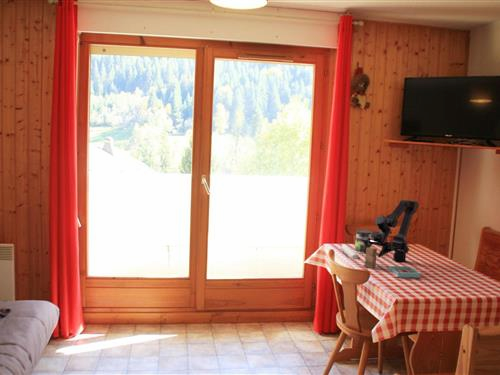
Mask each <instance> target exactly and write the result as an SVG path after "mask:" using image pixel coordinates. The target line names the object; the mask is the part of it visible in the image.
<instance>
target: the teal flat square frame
mask: <svg viewBox="0 0 500 375" xmlns="http://www.w3.org/2000/svg"><path fill="white" fill-rule="evenodd" d="M397 270H398V271H397ZM399 270H401V271H404V270H405V271H407V270H409V271H410V272H399ZM388 271H391V272H392V273H393V274H395V275H396V278H397V279H421V272H420V271H418V270H417V269H415V268H412V266H392V265H391V266H390V265H389V266H388Z"/></svg>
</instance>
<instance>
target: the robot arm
mask: <svg viewBox="0 0 500 375" xmlns="http://www.w3.org/2000/svg"><path fill="white" fill-rule="evenodd" d="M418 209H419V203H418V201H416V200H411V199H406V200H405V199H400V200H399V203H398V204H397V206H396V207H395V209H393V211H392V212H391V213H390V214H387V215H386V216H385V215H383V214H382V215H380V216H377V217H376V218H375V219H374V223H375V225H376V228H377V229H378V230H379V231H374V230H372V233H371V236H372V238H371V239H370V238H368V237H363V239H362V241H363V243H364V245H365V250H364V255H366V248H368V247H370V246H371V247H372V246H373V245H375V246H378V247H382V248H381V249H380V252H379V253H378V255H377V258H381V257H382V256H384V255H385V254H388V253H393V256H392V261H393V260H394V261H395V262H396V263H407V260H406V258H407V256H406V255H407V253H409V250H410V248H409V246H408V239H407V234H408V233H409V232H408V231H409V228H410V224H411V221H412V218H413V215H415V213H416V212H417V211H418ZM402 214H403V218H402V220H401V223H400V227H399V229H398V230H399V231H398V233H397V235H394V236H393V239H392V242H390V241H388V237H389V235H392V233H393V232H392V229H391V228H393V229H395V228H396V227H397V225H398V223H399V219H400V217H401V216H402Z"/></svg>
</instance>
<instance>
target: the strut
mask: <svg viewBox="0 0 500 375" xmlns="http://www.w3.org/2000/svg"><path fill="white" fill-rule="evenodd" d="M377 252H378V248H377V247H372V246H371V247H368V248H366V254H365V257H364V259H365V260H364V265H365V267H368V268H374V267H376V264H377ZM365 267H364V268H365Z"/></svg>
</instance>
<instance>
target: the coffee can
mask: <svg viewBox="0 0 500 375" xmlns="http://www.w3.org/2000/svg"><path fill="white" fill-rule="evenodd" d="M372 231H373V230H372ZM372 231H371V230H369V229H356V231H355V232H356V234H355V245H354V246H355V247H354V252H355V253H357V252H358V253H357V254H361V255H363V254H364V250H365V245H364V243H363V241H362V239H363V237H368V238H370V239H371V240H372V239H373V237H372V236H371V233H372ZM370 247H372V245H371V246H370ZM364 255H365V254H364Z"/></svg>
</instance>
